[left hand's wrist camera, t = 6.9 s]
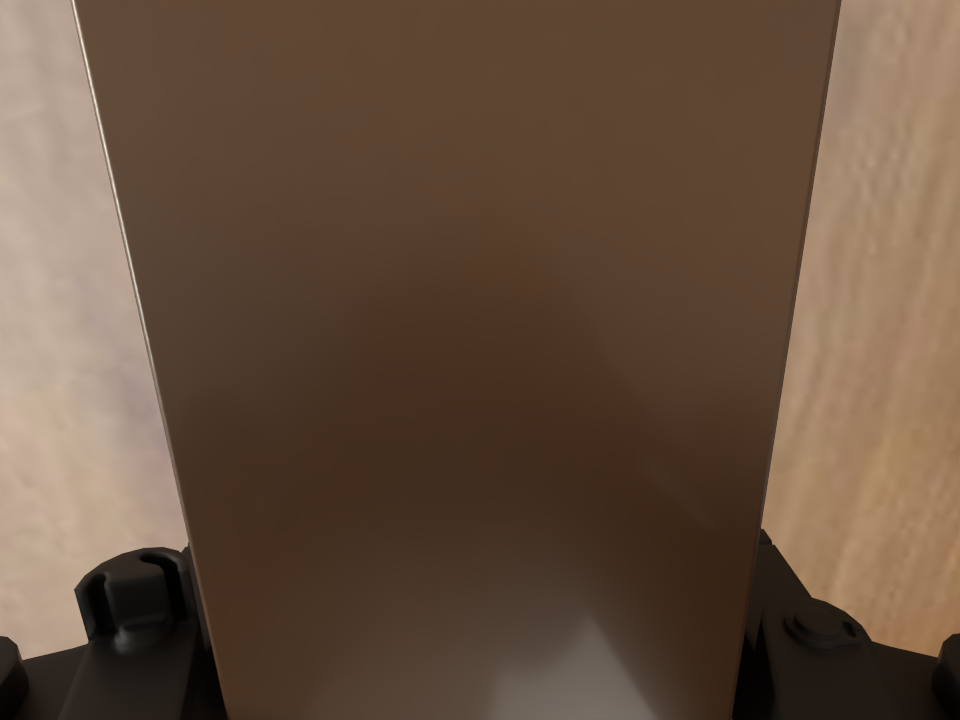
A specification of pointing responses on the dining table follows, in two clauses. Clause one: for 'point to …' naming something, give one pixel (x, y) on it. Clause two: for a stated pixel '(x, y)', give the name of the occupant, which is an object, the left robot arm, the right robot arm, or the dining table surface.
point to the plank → (466, 334)
